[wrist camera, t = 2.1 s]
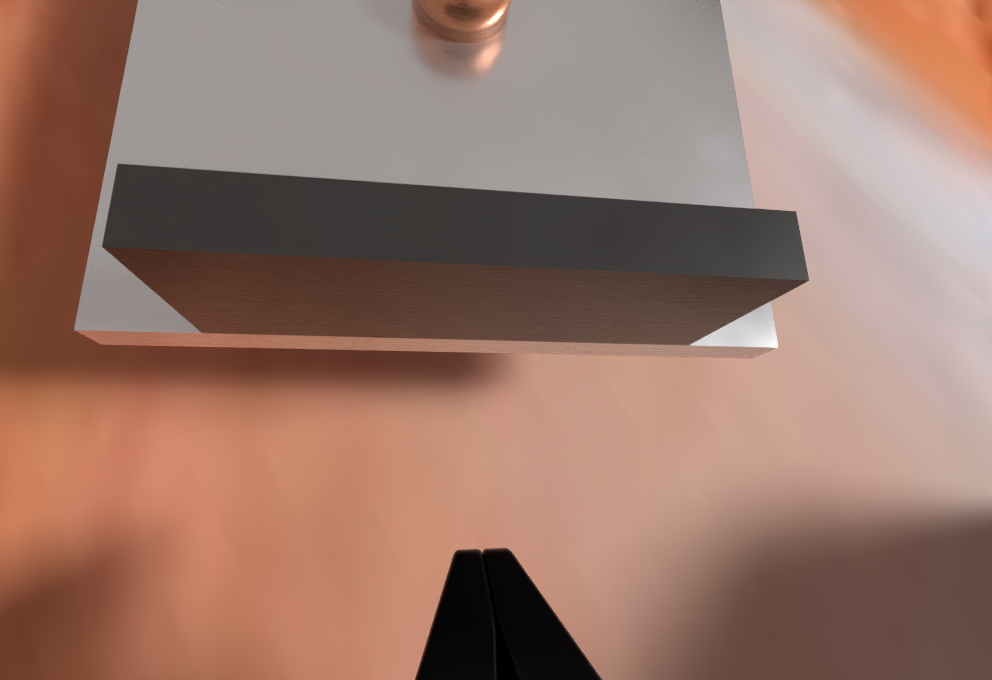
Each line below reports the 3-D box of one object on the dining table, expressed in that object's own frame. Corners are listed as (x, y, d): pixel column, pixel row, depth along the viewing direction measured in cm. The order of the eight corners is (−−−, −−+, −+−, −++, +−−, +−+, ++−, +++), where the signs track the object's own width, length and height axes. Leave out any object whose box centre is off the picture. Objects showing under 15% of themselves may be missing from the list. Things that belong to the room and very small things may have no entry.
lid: (751, 358, 14) (929, 286, 9) (101, 344, 11) (-102, 237, 7) (683, -85, 18) (783, -289, 13) (192, -165, 15) (105, -450, 11)
